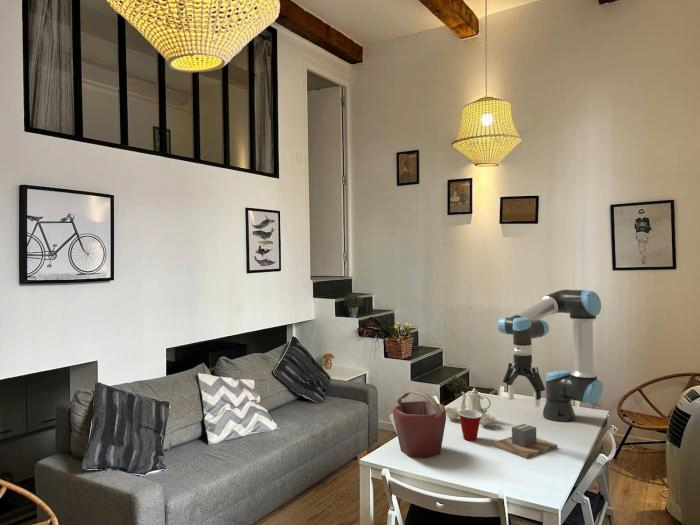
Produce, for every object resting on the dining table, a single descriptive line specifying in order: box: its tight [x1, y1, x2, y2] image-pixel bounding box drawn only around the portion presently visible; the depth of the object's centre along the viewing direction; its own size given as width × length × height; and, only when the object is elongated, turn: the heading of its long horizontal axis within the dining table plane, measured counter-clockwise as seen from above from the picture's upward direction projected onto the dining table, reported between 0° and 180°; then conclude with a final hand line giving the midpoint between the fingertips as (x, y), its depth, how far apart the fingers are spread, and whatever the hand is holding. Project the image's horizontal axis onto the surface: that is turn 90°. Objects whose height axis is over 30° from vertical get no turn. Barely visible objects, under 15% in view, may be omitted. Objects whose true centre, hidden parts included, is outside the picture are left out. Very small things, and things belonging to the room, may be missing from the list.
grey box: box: [511, 423, 537, 448], centre depth 231 cm, size 8×6×7 cm
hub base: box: [491, 436, 558, 459], centre depth 231 cm, size 20×18×6 cm
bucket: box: [392, 390, 447, 460], centre depth 230 cm, size 24×22×25 cm
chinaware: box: [445, 387, 498, 428], centre depth 267 cm, size 28×17×17 cm, turn 56°
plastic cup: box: [458, 410, 482, 442], centre depth 243 cm, size 11×11×12 cm
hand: (523, 403), depth 231 cm, fingers open, 13 cm apart
